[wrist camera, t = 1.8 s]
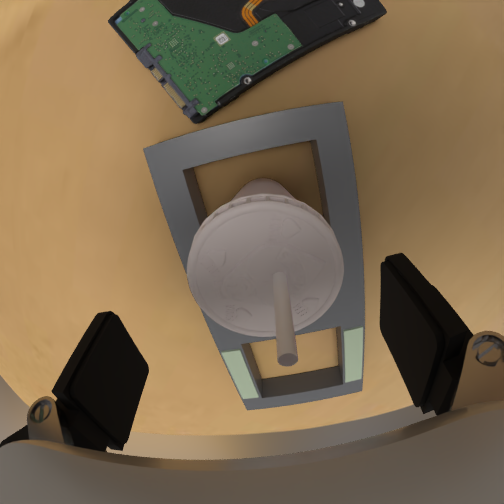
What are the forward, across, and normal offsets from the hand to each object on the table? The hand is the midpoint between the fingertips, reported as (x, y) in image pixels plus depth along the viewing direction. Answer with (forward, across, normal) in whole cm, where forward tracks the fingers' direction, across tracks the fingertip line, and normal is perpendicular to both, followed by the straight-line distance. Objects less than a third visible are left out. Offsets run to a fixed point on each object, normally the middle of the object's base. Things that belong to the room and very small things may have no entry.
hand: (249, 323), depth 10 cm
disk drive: (+12, -3, -14) cm, 19 cm away
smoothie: (+12, -1, 0) cm, 12 cm away
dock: (+12, -1, +7) cm, 14 cm away
